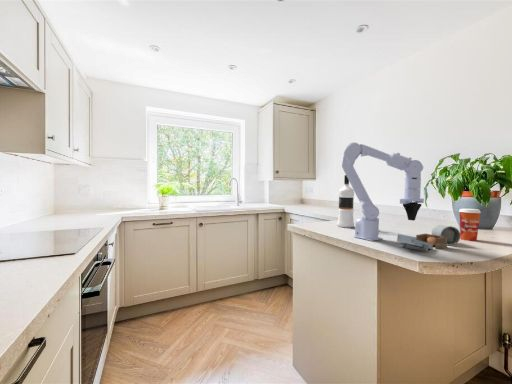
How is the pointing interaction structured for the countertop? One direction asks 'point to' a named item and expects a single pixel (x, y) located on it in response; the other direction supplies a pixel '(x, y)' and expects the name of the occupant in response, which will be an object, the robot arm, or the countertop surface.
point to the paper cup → (469, 224)
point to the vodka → (346, 205)
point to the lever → (413, 241)
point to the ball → (431, 240)
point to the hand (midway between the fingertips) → (411, 220)
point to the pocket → (439, 240)
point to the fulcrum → (416, 247)
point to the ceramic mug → (447, 233)
